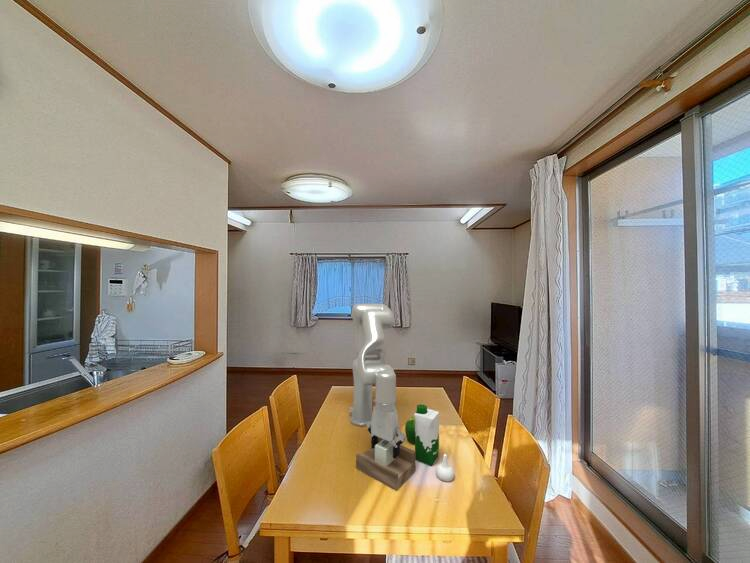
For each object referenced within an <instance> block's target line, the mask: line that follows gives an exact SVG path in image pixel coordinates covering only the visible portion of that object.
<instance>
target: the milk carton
mask: <svg viewBox="0 0 750 563" xmlns="http://www.w3.org/2000/svg"><path fill="white" fill-rule="evenodd" d="M413 416H414V418H415V444H414V451H416V461H417V462H419V463H422V464H425V465H427V466H430V467H433V466H434V464H435V462H436V461H437V459H439V458H438V457H439V452H440V451H439V450H440V449H439V447H440V411H437V410H434V409H430V408H428V406H427V405H425V404H418V405H416V411H415V412H414V414H413Z"/></svg>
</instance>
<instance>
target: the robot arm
mask: <svg viewBox="0 0 750 563" xmlns="http://www.w3.org/2000/svg"><path fill="white" fill-rule="evenodd" d="M351 317H352V322H353V323H354V327H355V328H354V329H355V333H354V335H355V338H354V339H355V341H354V343H355V345H354V346H355V352H356V354H357V355H358V356H357V358H355V359H353V361H352V364H351V365H352V367H351V369H352V377H353V406H351V407H350V408H349V410H348V413H350V414H351V415H350V418H349V419H350V423H352V424H353V425H355V426H357V427H358V426H360V427H367V431H368V432H369V436H370V437H371V442H370V443H371V448H375V445H376V444H377V443H378V437H380V438H382V439H384V440H387V441H389V442H392V443H393V445H394V447H393V458H394V459H395V458H396V457H397V456H398V455H399V453H400V445H402V444H404V442H405V440H406V439H407V437H406V434H404V432H403V431H402V430H401V429H400V423H399V414H398V409H396V408H397V406H396V401H397V399H396V397H397V394H396V393H397V391H396V389H397V387H396V386H397V375H396V373H395V370H394V368H393V367H392V365H389V364H387V341H386V339H385V334H384V328H391V327H392V328H393V326H394V322H395V316H394V314H393V312H392V310H391V309H390V308H389V307H388V306H387V305H386V304H385V303H357V304H353V306H352V307H351ZM373 355H375V356H373ZM373 386H375V398H374V399H373ZM373 402H374V403H375V405H374V406H373Z"/></svg>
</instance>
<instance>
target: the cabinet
mask: <svg viewBox="0 0 750 563" xmlns="http://www.w3.org/2000/svg"><path fill="white" fill-rule="evenodd" d="M393 447H394V445H393V443H392V442H389V441H387V440H384V439H383V440H381V441H380V442H379V443H377V444H376V445H375V462H376V463H378V464H380V465H382V466H384V467H387V466H388V465H389V464H390V463H391V462H392V461H394V460H395V459H394V458H393Z"/></svg>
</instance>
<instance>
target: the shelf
mask: <svg viewBox="0 0 750 563" xmlns="http://www.w3.org/2000/svg"><path fill="white" fill-rule="evenodd" d="M381 440H383V439H382V438H380V437H378V443H379V442H380V441H381ZM416 463H417V462H416V451H415V449H414V450H413V449H411V448H408V447H407V446H404V445H402V444H401V445H400V453H399V455H398V456H397V457H396V458H395V460H394V461H392V462H391V463H390V464H389V465H388V466H387V467H384V466H382V465H380V464H378V463H376V462H375V448H372V447H370V448H369V449H368V450H366V451H365V452H364V453H362V454H359V453H356V455H355V469H356V470H358V471H359V472H361V473H362V474H365V475H367V476H369V477H371V478H372V479H374V480H375V481H377V482H378V483H381V484H383V485H385V486H386V487H389V488H390V489H392V490H394V491H398V490H399V489H400V487H402V486H403V484H405V482H406V481H407V480H408V479H409V478H410V477H411V476H412V475H413V474H414V473H415V472H416V466H417V465H416Z"/></svg>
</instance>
